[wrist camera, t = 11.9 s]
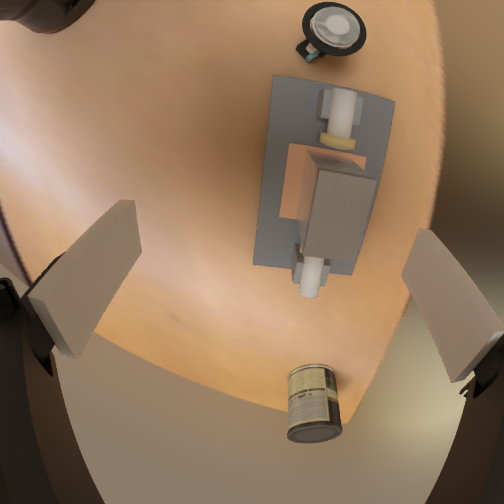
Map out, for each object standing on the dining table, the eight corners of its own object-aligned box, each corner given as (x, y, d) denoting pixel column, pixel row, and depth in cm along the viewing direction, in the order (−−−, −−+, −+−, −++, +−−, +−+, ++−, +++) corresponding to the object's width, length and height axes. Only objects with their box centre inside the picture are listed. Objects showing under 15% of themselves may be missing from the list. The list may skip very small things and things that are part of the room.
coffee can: (344, 368, 50) (353, 427, 38) (319, 391, 56) (322, 444, 44) (301, 359, 49) (304, 424, 37) (279, 383, 54) (277, 441, 42)
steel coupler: (296, 215, 32) (303, 256, 24) (306, 150, 28) (319, 170, 20) (335, 220, 32) (354, 261, 24) (349, 157, 28) (376, 180, 20)
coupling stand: (273, 76, 25) (274, 67, 19) (391, 101, 25) (422, 104, 18) (253, 260, 38) (248, 296, 31) (349, 271, 38) (362, 306, 31)
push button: (328, 14, 20) (350, -16, 12) (358, 48, 22) (393, 30, 13) (284, 42, 23) (289, 16, 14) (315, 76, 25) (335, 65, 16)
